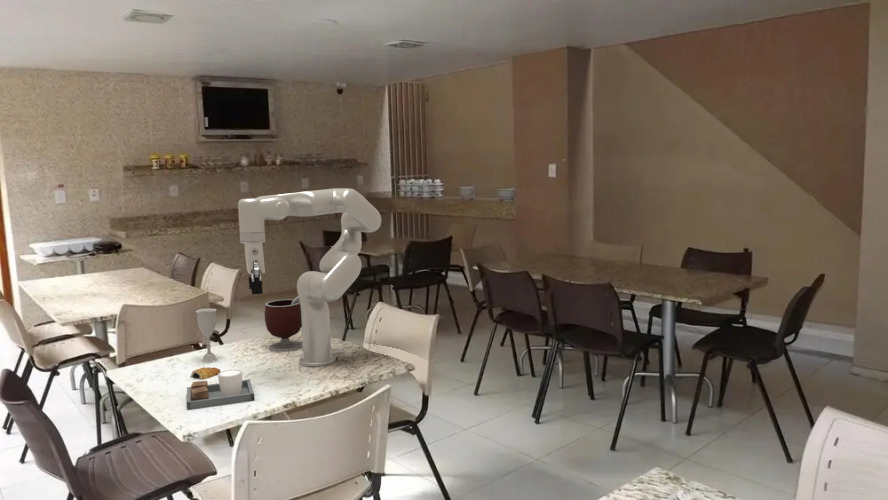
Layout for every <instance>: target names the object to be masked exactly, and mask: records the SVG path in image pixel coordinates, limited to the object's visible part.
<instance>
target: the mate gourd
mask: <svg viewBox="0 0 888 500" xmlns="http://www.w3.org/2000/svg"><path fill="white" fill-rule="evenodd" d="M264 323H265V327H266V330H267V332H269V334H271V336H273V337H276V338H280V342H276V343H272V344H270V345H269V346H268V350H269V351H271V352H277V353H280V352H281V353H283V352H291V351H296V350H299V349H301V348H303V342H300V341H295V340H294V341H293V340H290V337H292V336H293V337H294V336H295V335H297V334H299V332H300V330H302V321H301V306H300V300H299V296H296V297H295V298H294V299H287V298H286V299H277V300H276V299H275V300H272V301H271V300H270V301H267V302H266V303H265V307H264Z"/></svg>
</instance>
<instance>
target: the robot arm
mask: <svg viewBox="0 0 888 500" xmlns="http://www.w3.org/2000/svg"><path fill="white" fill-rule="evenodd" d="M237 203H238V204H237V209H238V225H239V239H240V240H239V241H240V244H242V245H243V244H244V257H245V265H246V270H247V272H248V289H250V290H251V294H252V295H262V294H263V293H264V292H263V280H262V274H263V275H264V274H265V273H266V271H265V270H266V269H265V258H264V256H265V255H264V248H263V243H265V242H266V232H265V230H266V229H265V221H266V220H267V221H281V220H283V219H285V218H286V217H302V218H303V217H306V218H307V217H314V216H315V217H316V216H322V215H330V214H335V213H338V214H339V213H342V215H341V218H340V224H341V234H340V237H339V239H338V240H337V241H336V242H335V243H334V244H333V246H332V247H331V248H330V249H329V250H328V251H327V252H326V253H325V254H324V255H323V257H322V258H321V260H320V262H319V270H320V272H319V271H315V270H314V271H313V270H312V271H311V270H310V271H306V272H304V273H302V274H301V275H300V276H299V278H298V279H297V283H296V291H297V295H298V296H299V301H300V306H301V321H302V327H301V338H302V354H303V355H302V356H301V357H299V359H298V363H299V365H301V366H304V367H305V366H306V367H321V366H327V365H331V364H333V363H334V362H336V360H337V359H336V356H337V355H345V353H346V352H345V348H340V347H336V348H333V347H332V344H331V328H330V327H331V323H330V322H331V321H330V308H329V304H328V303H333V302H336V301H337V300H338V299H340V298H341V297H342V296H343V295H344V294H345V292H346V291H347V290H348V289H349V288H350V287H351V286H352V284H353V283H354V282H356V280H357V278H358V277H359V275H360V274H361V270H362V260H361V258H360V256H358V255H359V253H360V251H361V249H362V245H363V243H362V233H374V232H376V231H377V230H378V229H380V227H381V225H382V215H381V214H380V212H379V211H378V209H377V208H376V207H374V205H373V204H371V202H370V201H368V200H367V198H365V197H364V196H363V195H362V194H361V193H360V192H358V191H357V190H355V189H353V188H348V187H347V188H343V187H342V188H339V187H337V188H327V189H317V190H307V191H306V190H305V191H298V192H291V193H282V194H281V193H280V194H271V195H262V196H260V195H259V196H258V197H255V198H254V197H252V198H251V197H250V198H240V199H239V201H238V202H237ZM261 273H262V274H261ZM298 296H297V297H298Z"/></svg>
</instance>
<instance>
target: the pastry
mask: <svg viewBox="0 0 888 500" xmlns="http://www.w3.org/2000/svg"><path fill="white" fill-rule="evenodd" d="M220 372H221V369H220V368H217V367H214V366H213V367H211V366H210V367H200V368H197V369H195V370H193V371H192V372H191V373H190V376H189V378H190V379H191V378H192V379H199V381H205V380H207V379H211V378H213V377H215V376H218V374H219V373H220Z"/></svg>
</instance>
